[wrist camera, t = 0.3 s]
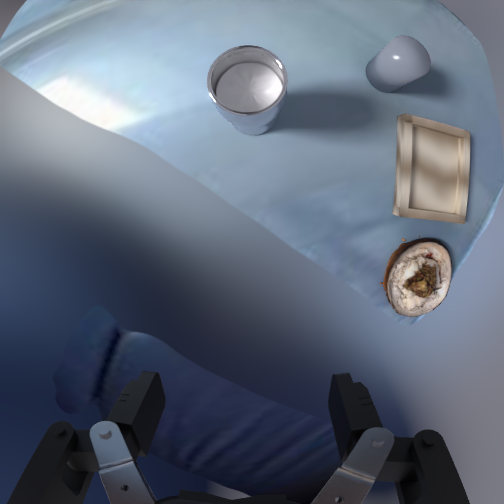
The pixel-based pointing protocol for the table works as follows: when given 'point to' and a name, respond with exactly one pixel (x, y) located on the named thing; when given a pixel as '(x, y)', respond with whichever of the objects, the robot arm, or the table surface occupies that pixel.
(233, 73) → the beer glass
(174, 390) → the table surface
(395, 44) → the grey rounded cylinder
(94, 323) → the table surface
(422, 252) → the stuffed round slice
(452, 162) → the birch tray
